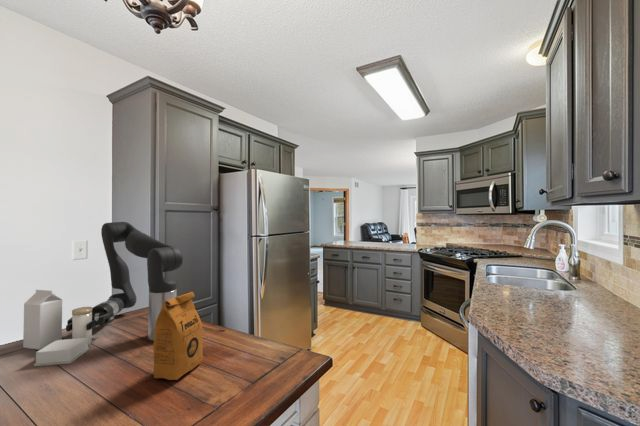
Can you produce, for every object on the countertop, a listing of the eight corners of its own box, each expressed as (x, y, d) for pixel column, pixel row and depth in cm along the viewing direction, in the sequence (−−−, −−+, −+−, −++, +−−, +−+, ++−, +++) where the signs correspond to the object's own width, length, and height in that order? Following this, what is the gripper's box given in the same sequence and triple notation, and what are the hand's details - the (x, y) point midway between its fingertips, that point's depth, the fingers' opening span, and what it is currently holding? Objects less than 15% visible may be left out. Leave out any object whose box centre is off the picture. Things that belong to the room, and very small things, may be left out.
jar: (95, 339, 106) (95, 306, 106) (86, 346, 100) (86, 311, 101) (77, 341, 105) (78, 307, 105) (67, 348, 99) (68, 312, 99)
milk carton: (39, 350, 98) (40, 293, 98) (22, 348, 99) (23, 292, 99) (61, 341, 105) (62, 288, 105) (46, 339, 106) (47, 287, 106)
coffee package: (208, 363, 89) (208, 291, 89) (175, 386, 77) (176, 303, 78) (182, 358, 92) (183, 289, 93) (147, 379, 81) (148, 299, 81)
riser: (88, 349, 98) (89, 337, 99) (70, 363, 89) (71, 350, 89) (55, 351, 97) (56, 339, 97) (33, 366, 87) (34, 352, 87)
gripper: (83, 303, 115) (53, 318, 99) (123, 301, 118) (101, 315, 102) (83, 322, 115) (53, 340, 99) (123, 320, 118) (101, 337, 101)
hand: (77, 327), depth 100 cm, fingers closed on jar, 5 cm apart
